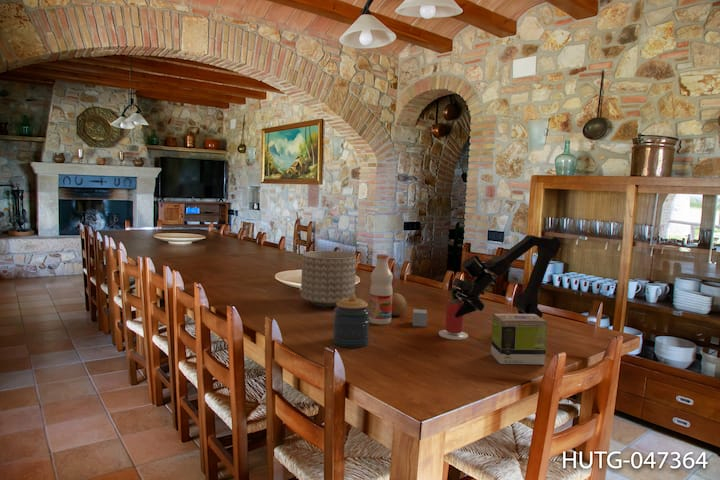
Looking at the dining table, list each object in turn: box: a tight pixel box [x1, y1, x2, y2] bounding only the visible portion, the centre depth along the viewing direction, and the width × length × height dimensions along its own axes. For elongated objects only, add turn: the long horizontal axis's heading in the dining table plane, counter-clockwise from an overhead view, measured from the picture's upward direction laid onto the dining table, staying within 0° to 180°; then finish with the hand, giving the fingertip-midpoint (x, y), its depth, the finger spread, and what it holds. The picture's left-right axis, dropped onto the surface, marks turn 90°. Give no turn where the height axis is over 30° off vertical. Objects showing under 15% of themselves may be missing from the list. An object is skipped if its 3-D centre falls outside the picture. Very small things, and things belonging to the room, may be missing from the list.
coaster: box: [438, 329, 469, 341], centre depth 181 cm, size 11×11×1 cm
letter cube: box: [412, 308, 428, 328], centre depth 194 cm, size 6×6×6 cm
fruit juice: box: [368, 254, 394, 326], centre depth 195 cm, size 9×9×28 cm
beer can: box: [444, 298, 464, 333], centre depth 180 cm, size 7×7×12 cm
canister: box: [332, 294, 371, 349], centre depth 167 cm, size 13×13×18 cm
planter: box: [300, 250, 357, 309], centre depth 220 cm, size 25×25×24 cm
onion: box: [391, 292, 408, 317], centre depth 206 cm, size 10×10×10 cm
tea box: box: [490, 312, 548, 366], centre depth 156 cm, size 15×10×15 cm
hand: (451, 314), depth 180 cm, fingers closed on beer can, 6 cm apart
